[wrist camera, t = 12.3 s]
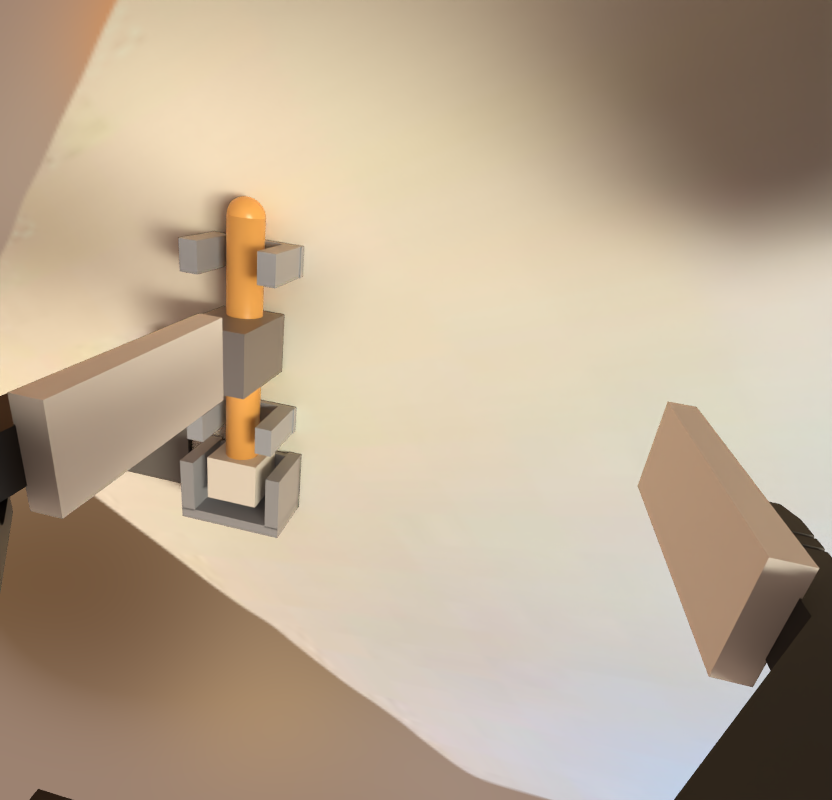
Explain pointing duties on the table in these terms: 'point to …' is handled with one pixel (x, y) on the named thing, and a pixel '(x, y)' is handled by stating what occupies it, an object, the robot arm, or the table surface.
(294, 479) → the end holder
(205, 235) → the clip
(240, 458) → the orange rod with blocks
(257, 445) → the clip
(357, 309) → the table surface
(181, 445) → the smartphone
